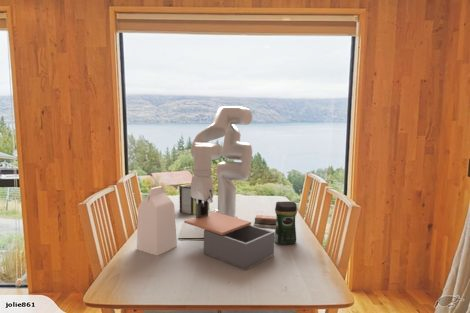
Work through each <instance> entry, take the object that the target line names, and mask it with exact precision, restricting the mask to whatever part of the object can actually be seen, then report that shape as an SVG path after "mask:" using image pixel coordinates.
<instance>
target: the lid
mask: <svg viewBox="0 0 470 313" xmlns="http://www.w3.org/2000/svg"><path fill="white" fill-rule="evenodd" d="M201 206H202V203H199V204H196V214H195V217H191V218H188V219H185V220H184V222H183V223H184V224H188V225H189V226H190V225H191V226H194V227H196V228H199V229H201V230H208V231H211V232H214V233H217V234H220V235H224V234H227V233H229V232H232V231H235V230H237V229H240V228H243V227H246V226H248V225H252V221H248V220H245V219H241V218H239V217H238V218H235V217H231V216H228V215H224V214H220V213H217V212H214V211H212V212H209V209H208V206H207V214H206V215H201Z"/></svg>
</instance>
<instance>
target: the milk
mask: <svg viewBox="0 0 470 313" xmlns="http://www.w3.org/2000/svg"><path fill="white" fill-rule="evenodd" d="M137 208H138V209H137V228H136V229H137V232H136V233H137V234H136V250H138V251H141V252H144V253H148V254H150V255H154V256H160V255H161V254H163V253H165V252H168V251H169V250H172V249H174V248H176V247H178V244H177V241H178V240H177V228H176V211H175V210H176V208H175V203H174V202H173V201H172V199H171V198H170V197H169V196H168V195H167V194H166V193H165V190H164V187H163V185H162V186H160V185H159V186H156V187H151V188H149V191H148V194H147V196H146V197H144V199H143V200H142V201H141V202H140V203H139V204H138V207H137Z"/></svg>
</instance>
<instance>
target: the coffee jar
mask: <svg viewBox="0 0 470 313" xmlns="http://www.w3.org/2000/svg"><path fill="white" fill-rule="evenodd" d="M274 212H275V214H276V215H275V217H276V228H275V229H274V230H275V231H274V232H275V235H274V243H276V244H278V245H294V244H296V243H297V230H296V217H297V214H298V206H297V203H296V202H295V201H276V203H275V206H274Z"/></svg>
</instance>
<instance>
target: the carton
mask: <svg viewBox="0 0 470 313" xmlns="http://www.w3.org/2000/svg"><path fill="white" fill-rule="evenodd" d="M274 237H275V231H272V230H269V229H267V228H266V229H265V228H263V227H255V226H253V225H252V224H251V225H248V226H246V227H243V228H240V229H237V230H235V231H232V232H229V233H227V234H224V235H220V234H217V233H214V232H211V231H208V230H205V229H203V254H204V255H205V256H208V257H210V258H213V259H216V260H217V261H218V260H219V261H221V262H224V263H226V264H229V265H231V266H233V267H237V268H239V269H241V270H244V271H248V270H250V269H251V268H253V267H255V266H257V265H259V264H260V263H262V262H265V261H266V260H268V259H271V258H272V257H274V255H275V240H274Z"/></svg>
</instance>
